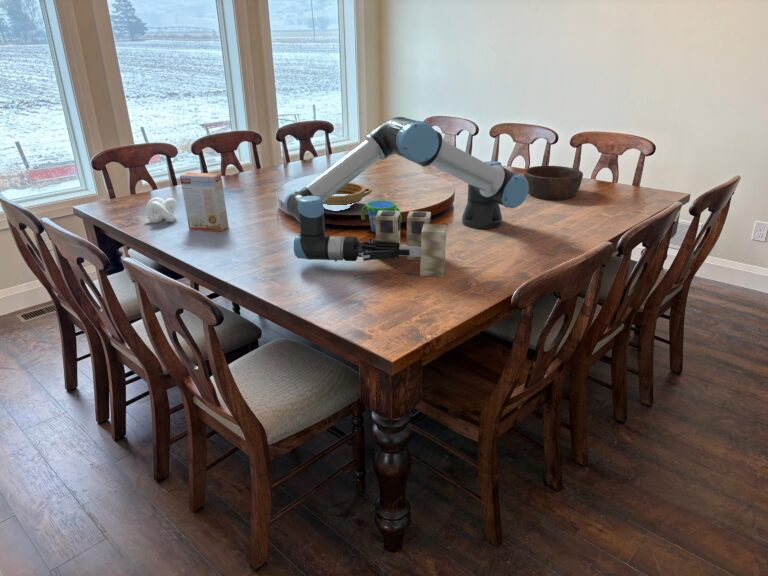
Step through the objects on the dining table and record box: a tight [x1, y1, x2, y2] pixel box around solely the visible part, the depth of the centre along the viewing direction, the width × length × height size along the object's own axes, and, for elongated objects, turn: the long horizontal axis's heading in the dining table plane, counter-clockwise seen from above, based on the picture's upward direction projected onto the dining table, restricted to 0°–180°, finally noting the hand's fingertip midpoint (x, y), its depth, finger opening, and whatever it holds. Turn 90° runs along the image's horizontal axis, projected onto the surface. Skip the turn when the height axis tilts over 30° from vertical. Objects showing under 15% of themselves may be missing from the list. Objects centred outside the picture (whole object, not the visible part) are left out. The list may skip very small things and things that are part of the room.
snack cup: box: [360, 199, 403, 233], centre depth 203 cm, size 16×10×10 cm
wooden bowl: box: [523, 165, 584, 201], centre depth 245 cm, size 25×25×10 cm
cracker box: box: [179, 172, 229, 232], centre depth 207 cm, size 14×6×21 cm, turn 74°
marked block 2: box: [375, 210, 401, 260], centre depth 180 cm, size 7×7×14 cm
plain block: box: [419, 223, 448, 278], centre depth 166 cm, size 7×7×14 cm
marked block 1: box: [406, 210, 432, 261], centre depth 178 cm, size 7×7×14 cm
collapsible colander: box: [323, 182, 372, 205], centre depth 232 cm, size 30×24×8 cm
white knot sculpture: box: [145, 197, 178, 224], centre depth 219 cm, size 11×12×9 cm
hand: (420, 251), depth 167 cm, fingers closed
